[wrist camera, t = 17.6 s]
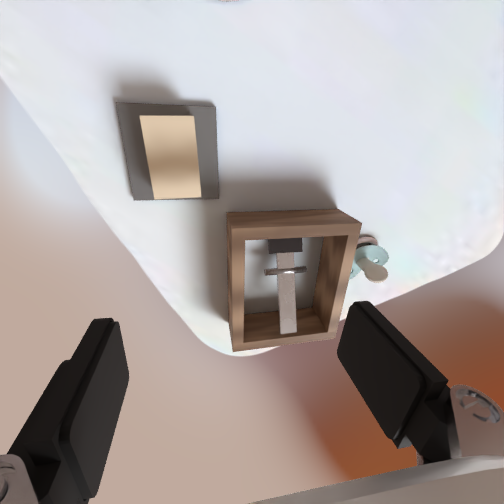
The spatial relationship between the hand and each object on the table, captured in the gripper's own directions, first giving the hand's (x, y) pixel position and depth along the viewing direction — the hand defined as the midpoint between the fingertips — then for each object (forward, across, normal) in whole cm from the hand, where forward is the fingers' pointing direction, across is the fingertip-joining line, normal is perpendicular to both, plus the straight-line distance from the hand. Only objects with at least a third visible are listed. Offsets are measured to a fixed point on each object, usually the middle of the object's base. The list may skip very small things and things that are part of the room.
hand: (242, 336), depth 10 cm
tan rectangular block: (+24, +4, -5) cm, 25 cm away
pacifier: (+25, -23, +8) cm, 35 cm away
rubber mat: (+24, +4, -5) cm, 25 cm away
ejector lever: (+22, -10, +11) cm, 26 cm away
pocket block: (+25, -10, +11) cm, 29 cm away
